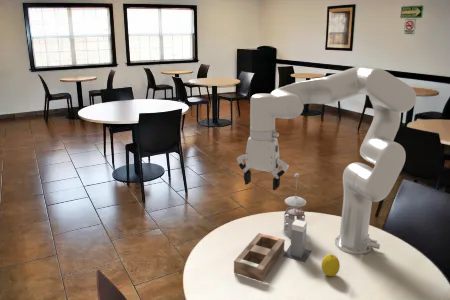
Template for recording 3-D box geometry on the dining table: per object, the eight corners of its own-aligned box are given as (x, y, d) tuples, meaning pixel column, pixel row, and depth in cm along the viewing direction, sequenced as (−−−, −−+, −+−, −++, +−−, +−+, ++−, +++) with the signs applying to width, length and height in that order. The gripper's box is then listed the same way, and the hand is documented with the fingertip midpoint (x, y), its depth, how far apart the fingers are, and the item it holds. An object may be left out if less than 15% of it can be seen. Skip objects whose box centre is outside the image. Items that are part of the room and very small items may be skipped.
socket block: (284, 250, 137) (284, 239, 135) (262, 282, 120) (262, 269, 118) (258, 243, 141) (258, 232, 140) (233, 272, 124) (233, 260, 123)
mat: (311, 251, 136) (311, 250, 136) (305, 263, 129) (305, 262, 129) (290, 246, 139) (290, 245, 139) (282, 257, 133) (282, 256, 133)
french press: (279, 238, 145) (281, 177, 137) (283, 223, 155) (286, 166, 148) (305, 242, 142) (309, 179, 134) (308, 227, 153) (312, 168, 145)
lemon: (328, 283, 119) (331, 261, 116) (317, 273, 124) (318, 252, 121) (342, 278, 121) (344, 256, 119) (330, 269, 126) (332, 248, 124)
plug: (304, 252, 135) (306, 221, 131) (301, 257, 132) (303, 227, 128) (293, 249, 137) (295, 219, 133) (290, 254, 133) (291, 224, 130)
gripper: (293, 134, 116) (291, 186, 121) (242, 128, 124) (242, 177, 129) (284, 141, 109) (282, 195, 115) (231, 134, 117) (232, 185, 123)
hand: (261, 185), depth 122 cm, fingers open, 9 cm apart
